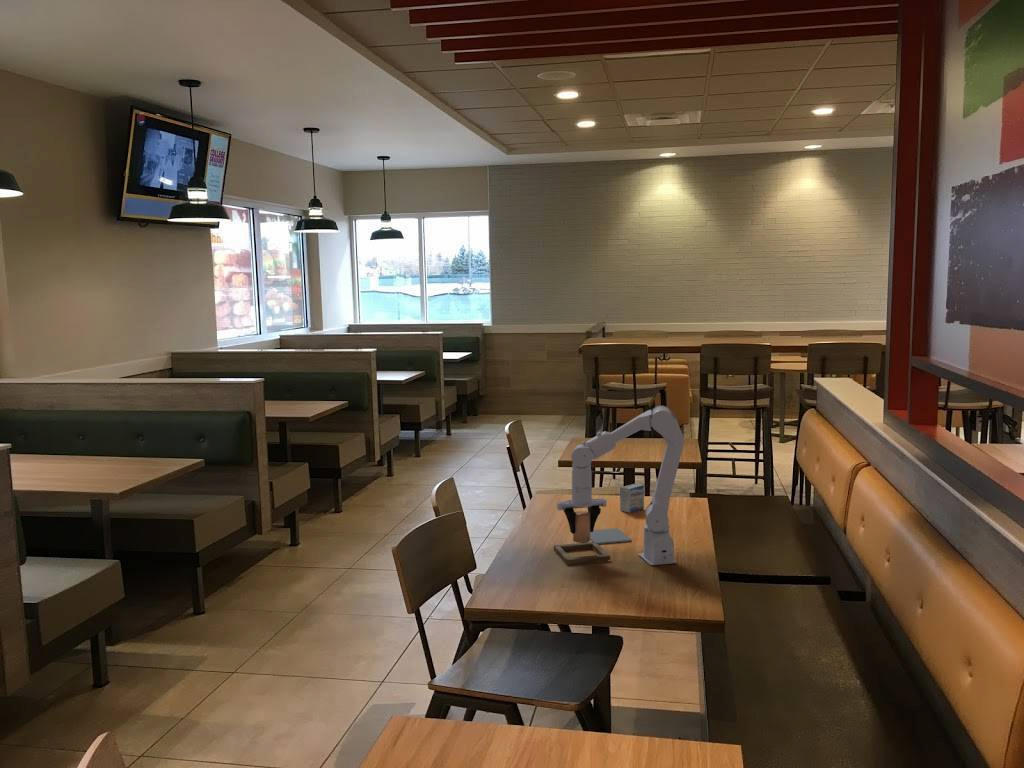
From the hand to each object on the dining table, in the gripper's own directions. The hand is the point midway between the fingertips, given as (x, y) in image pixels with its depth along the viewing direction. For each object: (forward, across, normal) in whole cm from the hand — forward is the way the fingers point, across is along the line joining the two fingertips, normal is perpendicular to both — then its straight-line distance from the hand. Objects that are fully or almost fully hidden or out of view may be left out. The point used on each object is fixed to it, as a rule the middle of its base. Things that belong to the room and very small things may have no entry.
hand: (581, 531), depth 238 cm
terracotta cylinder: (+2, 0, 0) cm, 2 cm away
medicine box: (+7, +32, +40) cm, 52 cm away
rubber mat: (+7, +13, +14) cm, 20 cm away
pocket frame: (+7, 0, 0) cm, 7 cm away
